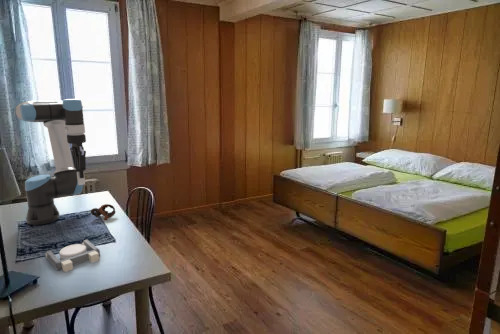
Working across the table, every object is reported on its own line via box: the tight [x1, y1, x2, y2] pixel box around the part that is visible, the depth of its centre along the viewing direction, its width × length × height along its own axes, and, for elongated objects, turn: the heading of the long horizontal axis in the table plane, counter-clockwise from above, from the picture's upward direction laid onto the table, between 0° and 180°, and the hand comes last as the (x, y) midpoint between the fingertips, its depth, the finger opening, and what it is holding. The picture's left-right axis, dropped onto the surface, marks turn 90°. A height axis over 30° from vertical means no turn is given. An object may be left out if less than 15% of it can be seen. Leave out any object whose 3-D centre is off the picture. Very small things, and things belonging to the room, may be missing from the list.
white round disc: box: [58, 243, 88, 261], centre depth 139 cm, size 10×10×4 cm
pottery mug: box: [90, 203, 116, 221], centre depth 180 cm, size 12×10×8 cm
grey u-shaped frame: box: [45, 239, 101, 273], centre depth 138 cm, size 18×16×3 cm
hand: (81, 184), depth 156 cm, fingers closed
